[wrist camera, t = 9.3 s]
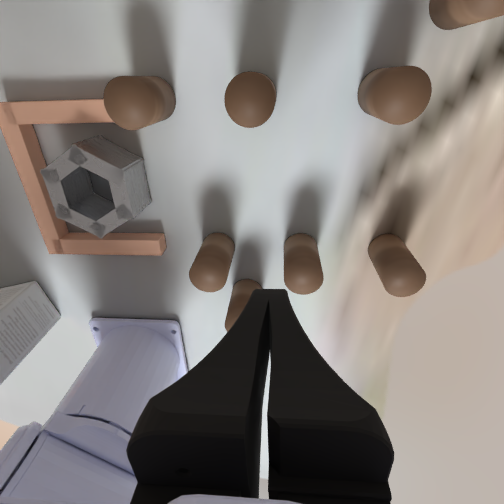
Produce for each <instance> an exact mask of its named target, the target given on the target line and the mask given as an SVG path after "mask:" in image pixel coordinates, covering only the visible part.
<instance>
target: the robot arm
mask: <svg viewBox="0 0 504 504" xmlns="http://www.w3.org/2000/svg"><path fill="white" fill-rule="evenodd" d="M89 325H90V328H91V331H92V334H93V336H94V339H95V342H96V345H97V347H98V348H97V349H96V351H95V352H94V354H93V355H92V356H91V358H90V359H89V361H88V362H87V364H86V365H85V367H84V368H83V370H82V371H81V373H80V374H79V376H78V377H77V379H76V380H75V381H74V383H73V384H72V386H71V387H70V389H69V390H68V392H67V393H66V395H65V396H64V398H63V399H62V401H61V402H60V403H59V405H58V406H57V408H56V409H55V411H54V412H53V414H52V415H51V417H50V418H49V419H48V421H47V422H46V423H45V424H44V425H43V426H42V425H41V424H39V423H37V422H32V423H30V424H29V425H25V426H22V427H19V428H18V429H17V430H16V432H15V433H14V434H13V435H12V436H11V438H10V439H9V440H8V442H7V443H6V444H5V445H4V447H3V448H2V449H1V450H0V504H390V501H391V499H392V498H391V491H390V488H389V484H388V478H389V474H390V471H391V468H392V464H393V461H394V451H393V447H392V444H391V441H390V438H389V436H388V434H387V431H386V429H385V427H384V425H383V423H382V421H381V419H380V417H379V415H378V413H377V411H376V409H375V408H374V407H372V406H371V405H370V404H369V403H368V402H366V401H365V400H364V399H363V398H361V397H360V396H359V395H358V394H357V393H356V392H354V391H353V390H352V389H351V388H350V387H349V386H348V385H347V384H346V383H345V382H344V381H343V380H342V379H341V378H340V377H339V376H338V375H337V373H336V372H335V371H334V370H333V369H332V368H331V367H330V366H329V365H328V364H327V362H326V361H325V360H324V359H323V357H322V356H321V355H320V354H319V352H318V351H317V350H316V348H315V347H314V346H313V344H312V343H311V341H310V340H309V338H308V336H307V335H306V333H305V332H304V330H303V328H302V326H301V325H300V323H299V321H298V319H297V317H296V315H295V313H294V311H293V308H292V306H291V303H290V301H289V297H288V293H287V291H286V290H285V289H255V290H253V292H252V294H251V296H250V298H249V300H248V302H247V304H246V306H245V307H244V309H243V311H242V312H241V314H240V315H239V317H238V318H237V320H236V321H235V323H234V324H233V326H232V327H231V328H230V330H229V331H228V332H227V334H226V335H225V336H224V337H223V338H222V340H221V341H220V342H219V343H218V344H217V345H216V346H215V347H214V349H213V350H212V351H211V352H210V353H209V354H208V355H207V356H206V357H205V358H204V359H203V360H202V361H200V362H199V363H198V364H197V365H196V366H195V367H194V368H192V369H191V370H190V371H189V372H188V369H187V364H186V358H185V353H184V347H183V342H182V336H181V331H180V325H179V323H178V322H177V321H174V320H149V319H118V318H92V319H91V320H90V321H89ZM173 330H175V331H173ZM269 353H270V356H271V372H270V387H269V400H268V412H267V420H268V449H269V477H268V492H269V499H259V473H260V448H261V425H262V406H263V396H264V389H265V382H266V375H267V368H268V360H269Z"/></svg>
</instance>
